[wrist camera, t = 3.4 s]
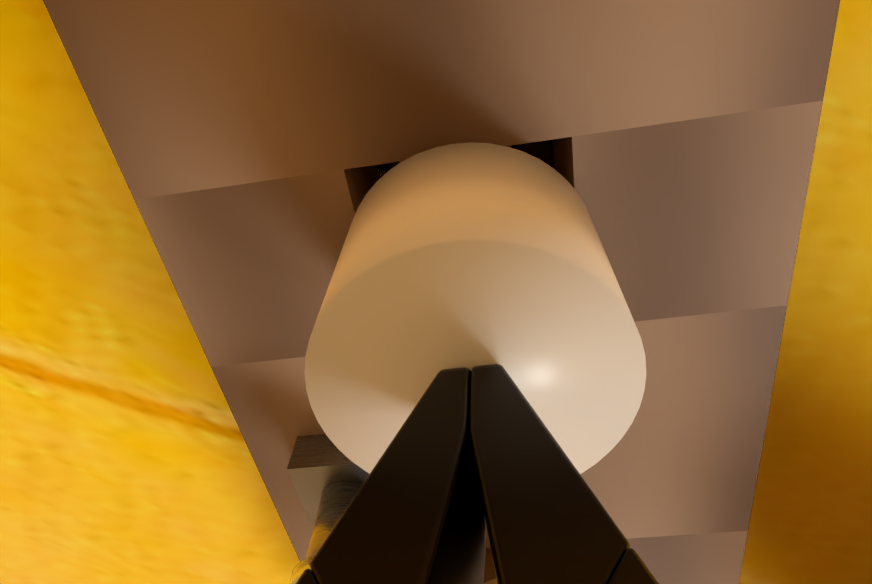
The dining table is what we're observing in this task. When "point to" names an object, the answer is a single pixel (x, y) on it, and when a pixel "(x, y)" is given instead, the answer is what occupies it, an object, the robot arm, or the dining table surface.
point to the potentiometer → (322, 488)
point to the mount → (496, 124)
